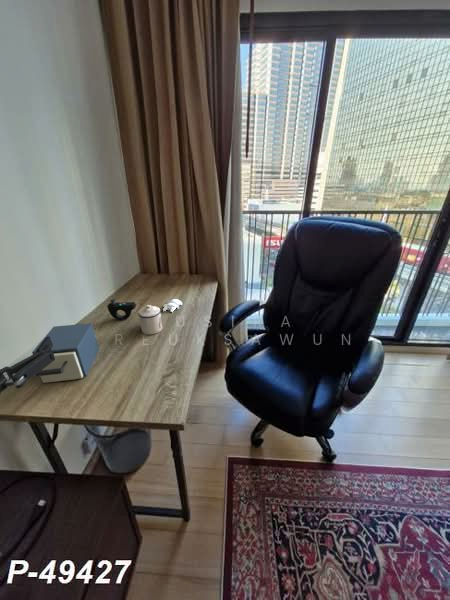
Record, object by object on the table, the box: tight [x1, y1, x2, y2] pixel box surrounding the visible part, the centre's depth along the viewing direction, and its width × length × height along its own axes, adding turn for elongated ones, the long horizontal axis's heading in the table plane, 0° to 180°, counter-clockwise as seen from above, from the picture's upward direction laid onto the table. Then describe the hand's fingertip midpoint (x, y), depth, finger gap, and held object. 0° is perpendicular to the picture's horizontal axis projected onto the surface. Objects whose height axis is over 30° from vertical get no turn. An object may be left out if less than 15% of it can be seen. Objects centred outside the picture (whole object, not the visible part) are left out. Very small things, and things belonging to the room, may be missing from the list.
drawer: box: [34, 350, 84, 384], centre depth 82 cm, size 19×12×10 cm, turn 9°
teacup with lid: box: [137, 304, 163, 336], centre depth 107 cm, size 12×9×12 cm
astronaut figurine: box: [162, 298, 183, 313], centre depth 126 cm, size 9×12×3 cm
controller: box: [106, 298, 137, 321], centre depth 114 cm, size 4×12×10 cm, turn 96°
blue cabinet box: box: [31, 322, 100, 378], centre depth 86 cm, size 15×13×12 cm
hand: (19, 346), depth 62 cm, fingers open, 13 cm apart
